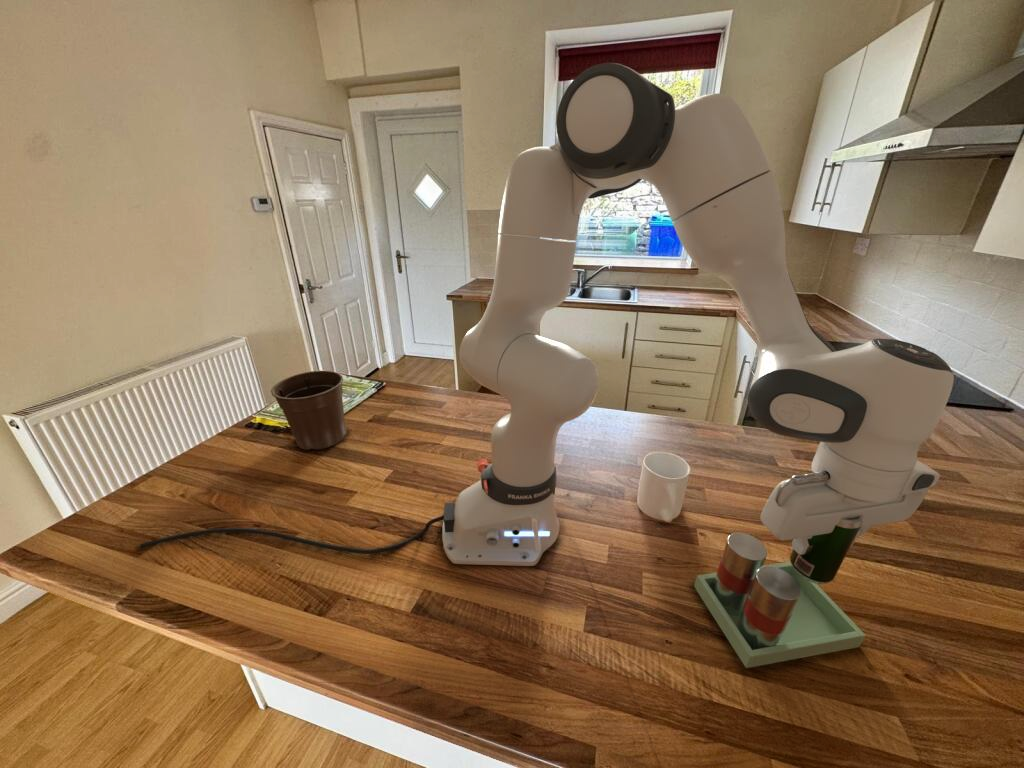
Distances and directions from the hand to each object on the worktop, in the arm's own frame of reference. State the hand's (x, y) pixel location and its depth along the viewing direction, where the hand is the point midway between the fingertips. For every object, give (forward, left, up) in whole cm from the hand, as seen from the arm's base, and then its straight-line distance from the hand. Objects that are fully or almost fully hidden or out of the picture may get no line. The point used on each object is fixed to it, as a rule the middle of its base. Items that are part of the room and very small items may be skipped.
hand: (821, 547), depth 56 cm
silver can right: (-9, -4, -13) cm, 16 cm away
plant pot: (-85, +62, -14) cm, 107 cm away
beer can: (0, 0, -5) cm, 5 cm away
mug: (-10, +22, -14) cm, 28 cm away
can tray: (-4, -1, -13) cm, 14 cm away
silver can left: (-9, +2, -13) cm, 16 cm away
